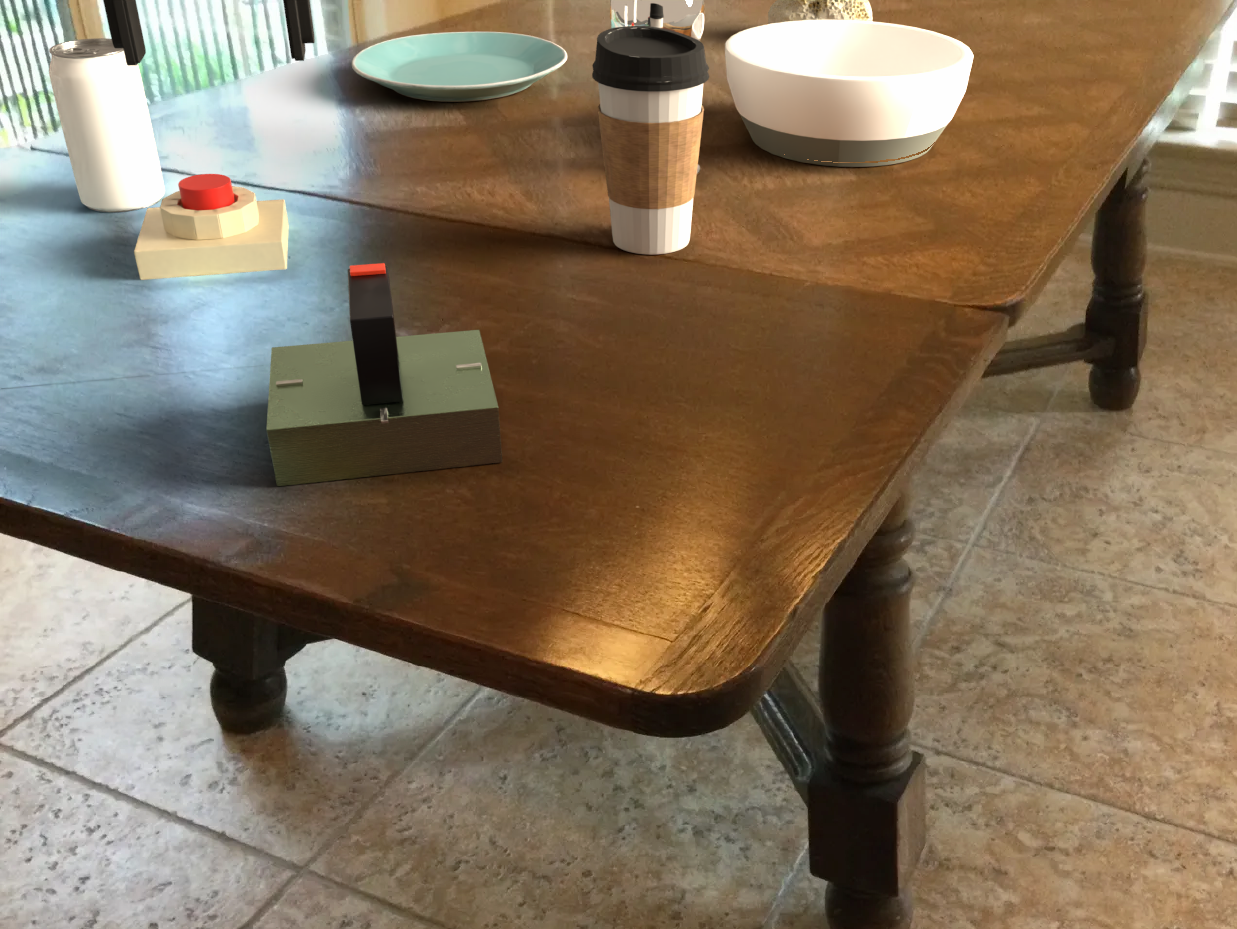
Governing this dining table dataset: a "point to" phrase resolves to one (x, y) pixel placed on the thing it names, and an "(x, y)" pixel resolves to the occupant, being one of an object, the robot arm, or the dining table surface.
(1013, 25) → the dining table surface
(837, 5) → the decorative item
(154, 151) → the can
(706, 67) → the coffee cup
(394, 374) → the black rectangular case
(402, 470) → the green lever base box
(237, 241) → the box
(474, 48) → the plate
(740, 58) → the bowl
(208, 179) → the release button
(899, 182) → the dining table surface
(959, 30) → the dining table surface
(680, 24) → the wineglass
